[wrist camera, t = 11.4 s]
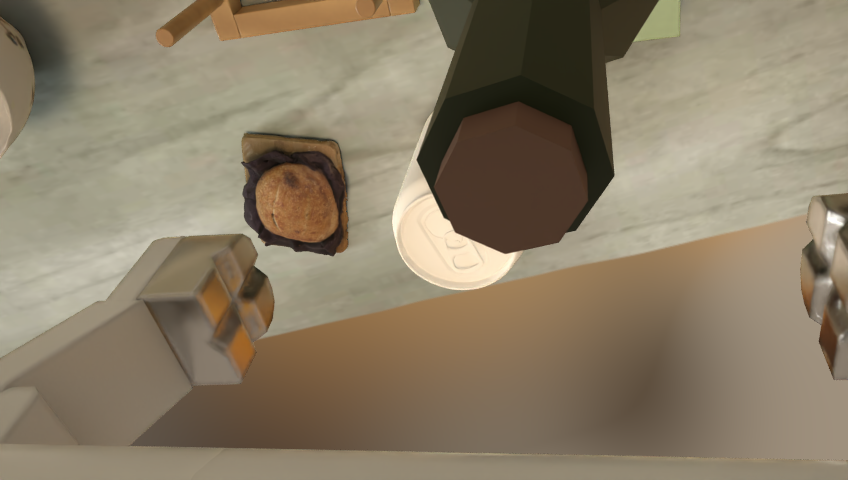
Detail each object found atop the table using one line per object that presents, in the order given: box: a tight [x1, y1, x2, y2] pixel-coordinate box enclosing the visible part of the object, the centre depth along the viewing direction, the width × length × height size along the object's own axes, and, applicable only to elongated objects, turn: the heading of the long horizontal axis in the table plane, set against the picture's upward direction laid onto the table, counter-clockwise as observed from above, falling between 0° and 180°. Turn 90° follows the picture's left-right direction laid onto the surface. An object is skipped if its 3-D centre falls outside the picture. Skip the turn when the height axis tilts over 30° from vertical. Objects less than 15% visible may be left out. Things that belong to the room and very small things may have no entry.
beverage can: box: [392, 111, 523, 290], centre depth 45 cm, size 8×8×12 cm
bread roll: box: [241, 133, 348, 256], centre depth 54 cm, size 11×8×4 cm
